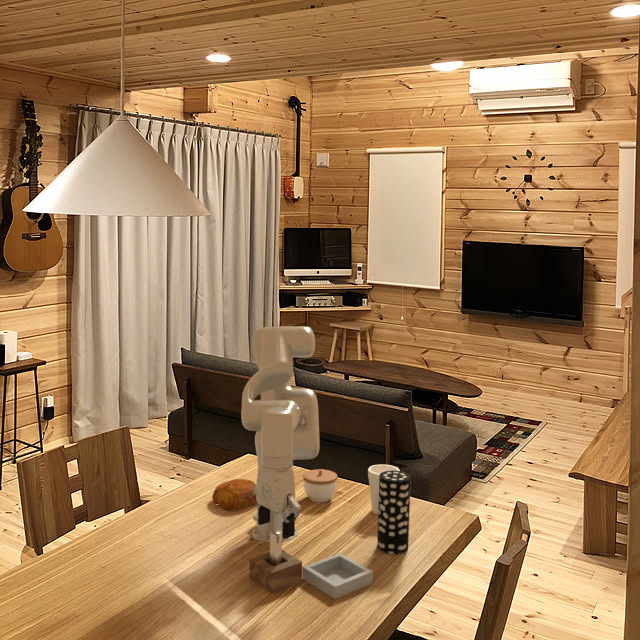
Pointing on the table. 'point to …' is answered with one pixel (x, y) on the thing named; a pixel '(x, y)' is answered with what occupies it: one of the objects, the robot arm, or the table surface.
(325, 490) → the lidded jar
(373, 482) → the foam cup
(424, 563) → the table surface
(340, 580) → the tray
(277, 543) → the steel pin
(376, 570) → the table surface
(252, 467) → the table surface
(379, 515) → the spotted tube
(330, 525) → the table surface
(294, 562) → the socket block
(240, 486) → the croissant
